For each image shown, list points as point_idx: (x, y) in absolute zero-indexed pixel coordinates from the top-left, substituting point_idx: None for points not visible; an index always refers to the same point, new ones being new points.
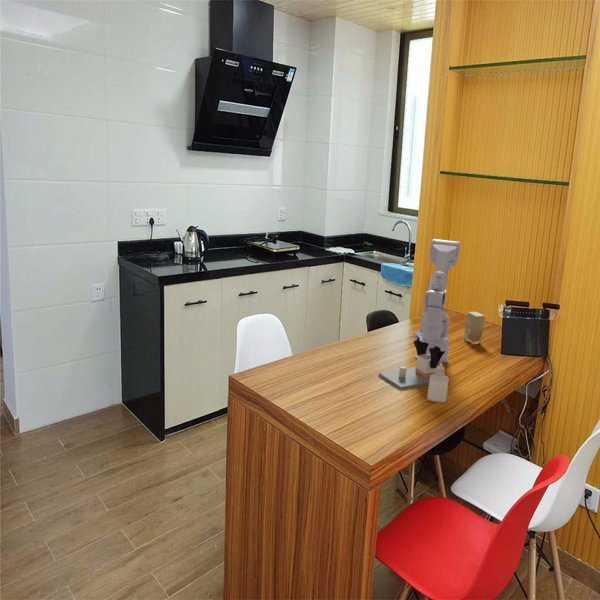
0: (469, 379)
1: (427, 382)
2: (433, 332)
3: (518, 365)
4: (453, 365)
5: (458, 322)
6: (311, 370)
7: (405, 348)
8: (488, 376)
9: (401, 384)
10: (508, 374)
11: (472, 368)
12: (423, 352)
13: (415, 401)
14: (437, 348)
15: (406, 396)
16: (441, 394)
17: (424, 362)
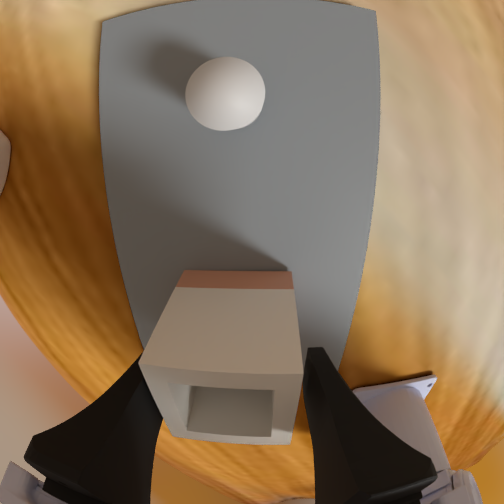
0: None
1: (114, 237)
2: None
3: (231, 494)
4: (299, 439)
5: None
6: None
7: (487, 372)
8: (183, 452)
9: (129, 37)
10: (188, 473)
11: (251, 457)
12: (316, 430)
13: (5, 64)
14: (61, 494)
15: (46, 35)
16: None
17: (182, 344)
